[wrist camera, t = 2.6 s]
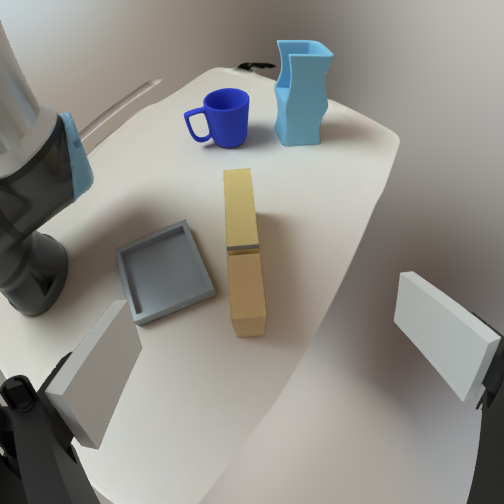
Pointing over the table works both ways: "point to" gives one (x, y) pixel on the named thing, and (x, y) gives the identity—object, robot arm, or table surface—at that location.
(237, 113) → the mug
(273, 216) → the table surface
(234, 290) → the stub
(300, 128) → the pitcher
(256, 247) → the grey-ended yellow block
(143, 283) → the tray
